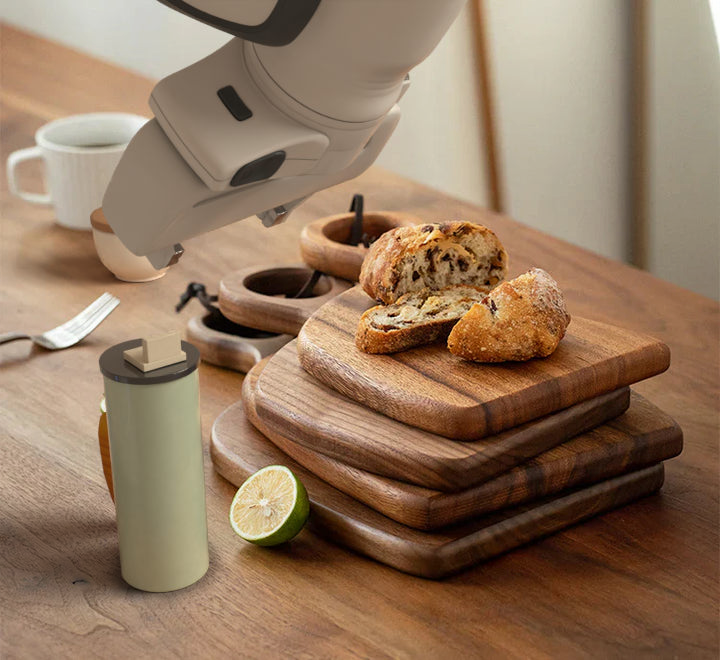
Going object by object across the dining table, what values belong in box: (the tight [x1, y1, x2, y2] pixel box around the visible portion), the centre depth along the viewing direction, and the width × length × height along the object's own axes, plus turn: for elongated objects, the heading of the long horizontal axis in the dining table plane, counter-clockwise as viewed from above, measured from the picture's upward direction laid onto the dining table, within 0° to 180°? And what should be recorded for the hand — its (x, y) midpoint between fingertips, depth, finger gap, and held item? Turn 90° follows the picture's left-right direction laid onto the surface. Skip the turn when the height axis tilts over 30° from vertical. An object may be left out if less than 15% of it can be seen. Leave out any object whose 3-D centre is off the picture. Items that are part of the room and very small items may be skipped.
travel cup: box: [98, 337, 210, 593], centre depth 85 cm, size 8×8×19 cm
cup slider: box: [123, 328, 186, 372], centre depth 81 cm, size 4×3×2 cm
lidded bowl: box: [89, 206, 182, 283], centre depth 153 cm, size 13×13×11 cm
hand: (215, 237), depth 71 cm, fingers open, 8 cm apart
